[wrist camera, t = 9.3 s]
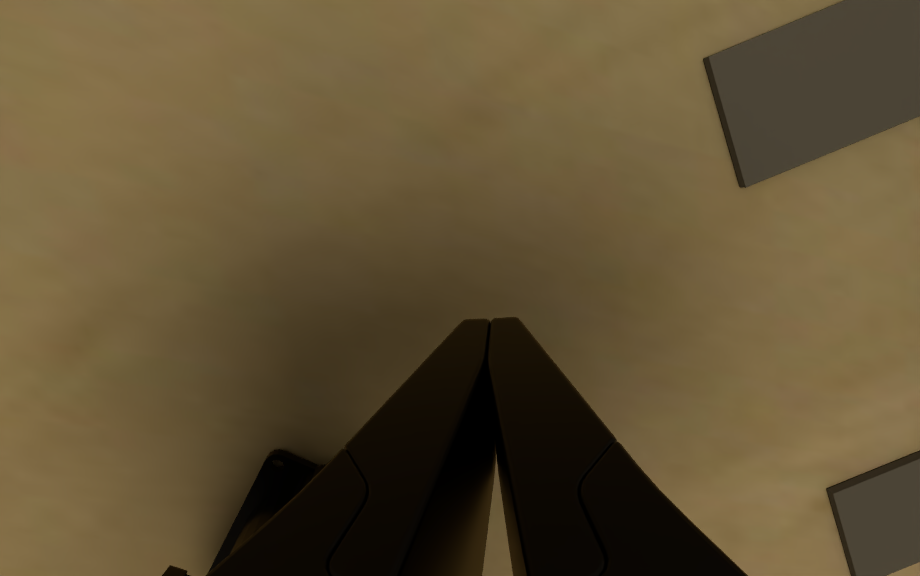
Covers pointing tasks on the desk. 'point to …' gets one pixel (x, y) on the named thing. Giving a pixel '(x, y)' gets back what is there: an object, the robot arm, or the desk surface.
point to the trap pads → (809, 137)
